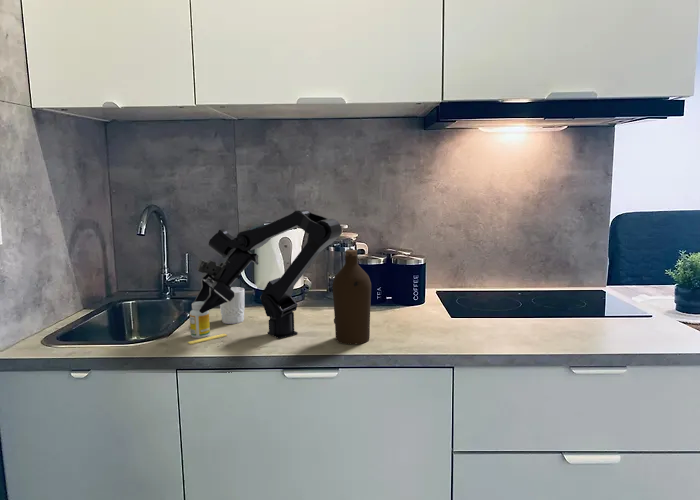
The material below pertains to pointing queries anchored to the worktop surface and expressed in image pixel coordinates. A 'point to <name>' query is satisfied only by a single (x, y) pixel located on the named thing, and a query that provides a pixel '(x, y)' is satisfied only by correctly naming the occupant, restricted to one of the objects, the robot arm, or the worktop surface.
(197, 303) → the supplement bottle
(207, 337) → the yellow flat stick
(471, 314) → the worktop surface
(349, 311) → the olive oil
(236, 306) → the white cup
